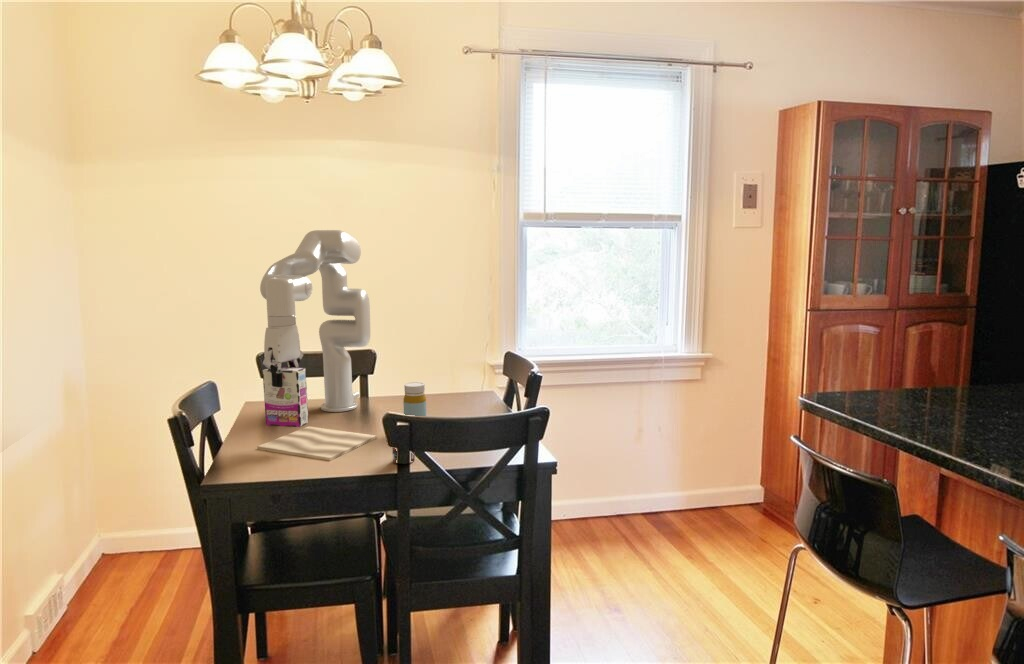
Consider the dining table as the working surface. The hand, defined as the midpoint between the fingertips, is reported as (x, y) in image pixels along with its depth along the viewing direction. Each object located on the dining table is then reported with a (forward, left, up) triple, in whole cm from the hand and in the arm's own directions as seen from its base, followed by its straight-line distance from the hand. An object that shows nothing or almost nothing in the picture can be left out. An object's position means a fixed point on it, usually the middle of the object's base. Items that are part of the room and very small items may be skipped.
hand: (285, 383), depth 192 cm
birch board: (-7, +5, -19) cm, 21 cm away
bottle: (-29, +25, -19) cm, 43 cm away
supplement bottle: (-3, +37, -19) cm, 42 cm away
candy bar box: (0, 0, -12) cm, 12 cm away
